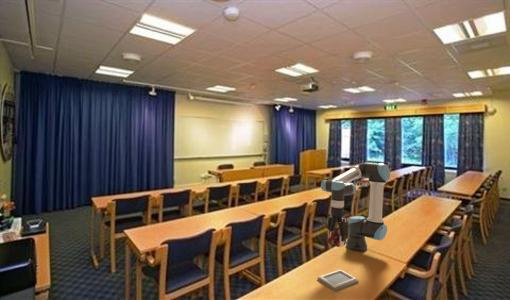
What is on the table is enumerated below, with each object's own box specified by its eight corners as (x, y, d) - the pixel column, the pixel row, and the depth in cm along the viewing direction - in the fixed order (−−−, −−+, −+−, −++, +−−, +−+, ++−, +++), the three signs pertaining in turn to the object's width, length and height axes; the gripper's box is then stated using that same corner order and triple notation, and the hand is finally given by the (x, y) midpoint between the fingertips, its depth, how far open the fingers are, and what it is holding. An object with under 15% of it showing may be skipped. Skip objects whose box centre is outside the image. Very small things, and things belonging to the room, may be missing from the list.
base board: (339, 272, 166) (339, 268, 166) (358, 282, 154) (358, 278, 154) (317, 279, 158) (317, 275, 158) (335, 291, 145) (335, 287, 145)
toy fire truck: (325, 244, 164) (325, 227, 164) (338, 240, 171) (338, 224, 171) (335, 248, 158) (335, 231, 158) (347, 244, 166) (348, 227, 165)
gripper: (321, 203, 171) (320, 239, 172) (345, 211, 153) (344, 251, 154) (330, 202, 175) (329, 237, 175) (355, 209, 157) (354, 248, 157)
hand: (336, 243), depth 165 cm, fingers closed on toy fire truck, 7 cm apart
